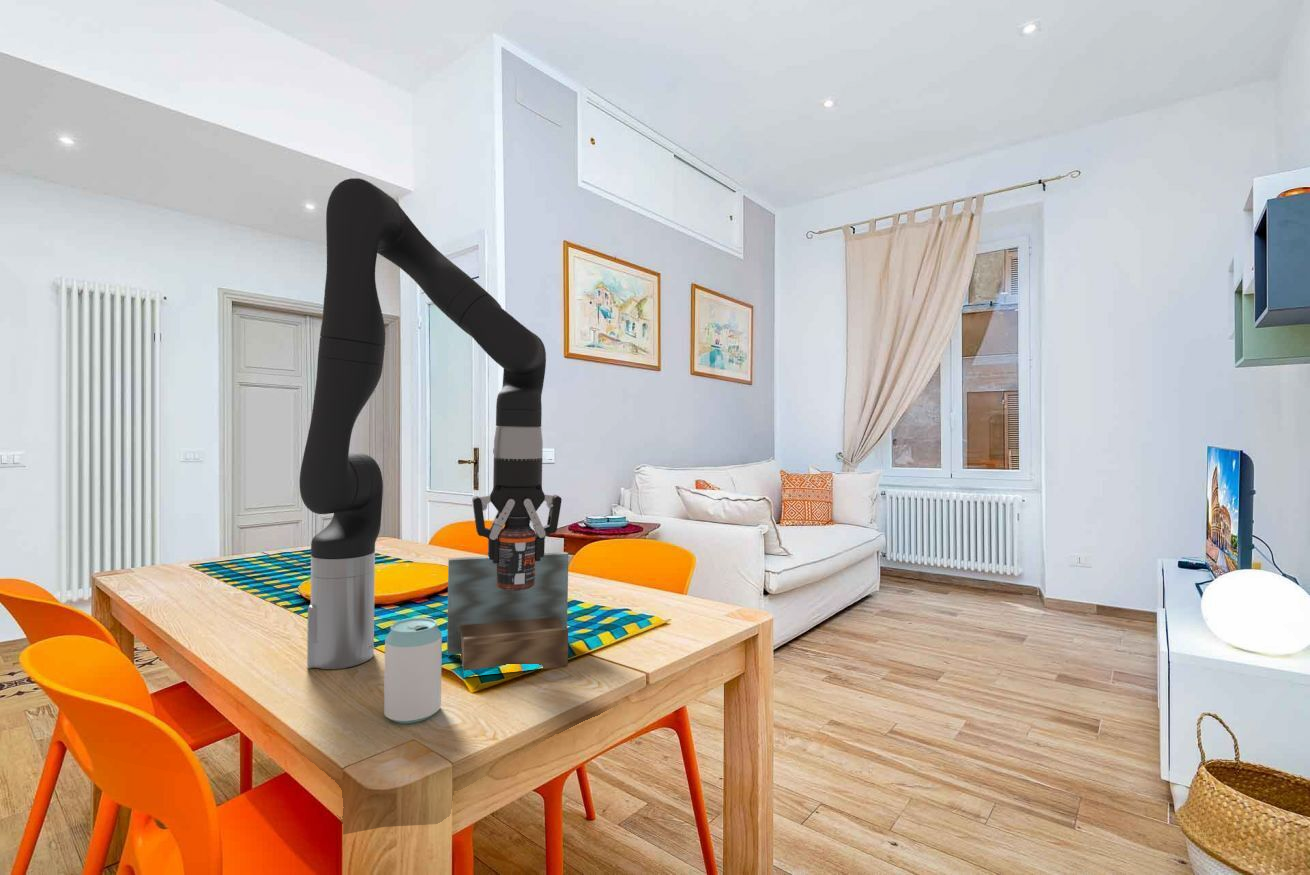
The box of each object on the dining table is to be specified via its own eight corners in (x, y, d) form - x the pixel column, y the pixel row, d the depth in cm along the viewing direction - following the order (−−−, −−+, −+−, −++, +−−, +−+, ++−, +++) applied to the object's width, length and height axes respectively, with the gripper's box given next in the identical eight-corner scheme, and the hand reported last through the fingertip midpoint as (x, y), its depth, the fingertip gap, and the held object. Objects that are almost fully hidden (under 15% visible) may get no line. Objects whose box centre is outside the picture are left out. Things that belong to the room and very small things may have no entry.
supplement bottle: (530, 592, 95) (531, 519, 95) (491, 591, 95) (492, 518, 95) (538, 582, 101) (539, 513, 101) (502, 581, 101) (503, 512, 101)
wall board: (449, 680, 93) (451, 574, 93) (447, 653, 104) (448, 558, 103) (579, 664, 100) (581, 566, 100) (564, 641, 111) (566, 552, 110)
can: (445, 700, 87) (447, 615, 86) (434, 725, 80) (435, 632, 79) (393, 702, 86) (394, 616, 85) (376, 727, 79) (377, 633, 78)
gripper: (472, 456, 92) (470, 569, 92) (568, 456, 97) (566, 564, 97) (469, 453, 99) (467, 558, 99) (558, 454, 104) (556, 554, 104)
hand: (516, 560), depth 98 cm, fingers closed on supplement bottle, 6 cm apart
